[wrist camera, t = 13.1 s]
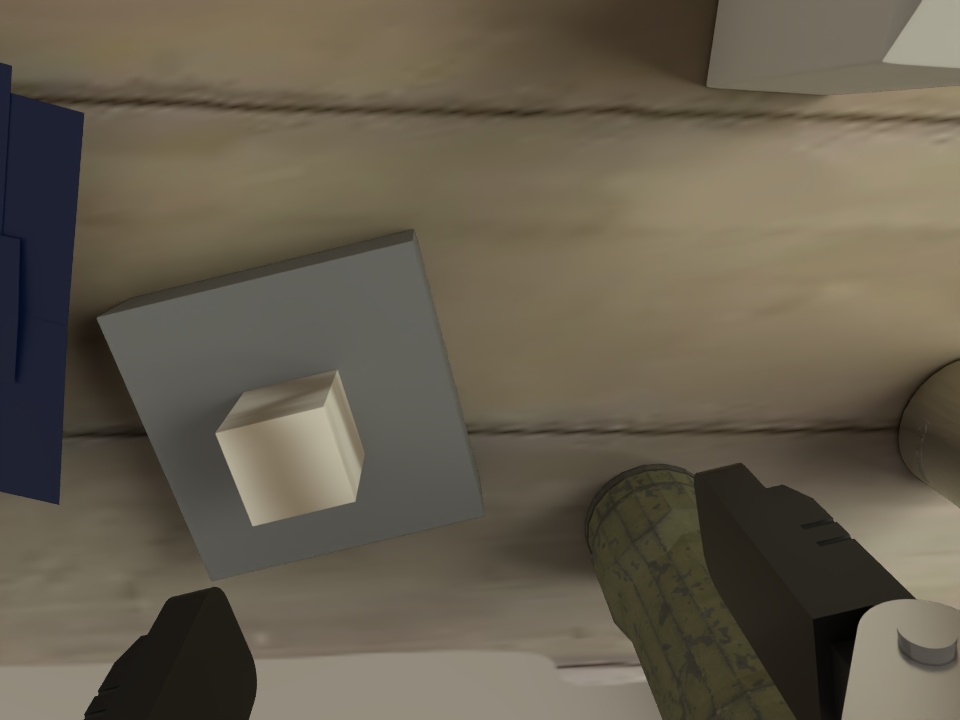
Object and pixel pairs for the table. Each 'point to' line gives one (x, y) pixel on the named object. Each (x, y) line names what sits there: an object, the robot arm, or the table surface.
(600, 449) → the table surface
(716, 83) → the milk carton
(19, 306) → the papers
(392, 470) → the charcoal plinth
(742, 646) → the thermos
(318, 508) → the cream cube
